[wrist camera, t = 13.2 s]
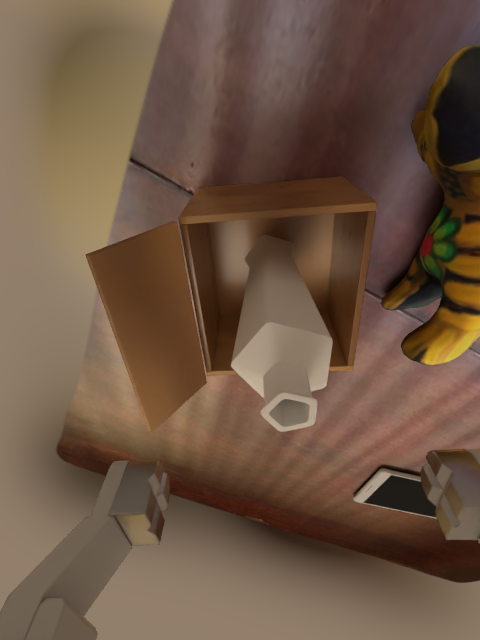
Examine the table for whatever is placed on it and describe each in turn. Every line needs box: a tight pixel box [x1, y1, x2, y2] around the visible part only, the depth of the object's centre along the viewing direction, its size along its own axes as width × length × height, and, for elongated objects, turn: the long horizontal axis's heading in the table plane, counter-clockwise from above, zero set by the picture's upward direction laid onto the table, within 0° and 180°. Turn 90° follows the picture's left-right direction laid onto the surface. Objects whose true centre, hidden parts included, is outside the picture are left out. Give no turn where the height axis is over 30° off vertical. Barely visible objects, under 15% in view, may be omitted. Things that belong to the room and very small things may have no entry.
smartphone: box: [353, 468, 436, 518], centre depth 42 cm, size 8×1×15 cm
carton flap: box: [86, 222, 207, 432], centre depth 17 cm, size 5×11×1 cm
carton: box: [178, 176, 377, 376], centre depth 22 cm, size 10×11×7 cm
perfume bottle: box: [231, 234, 333, 432], centre depth 18 cm, size 5×4×15 cm
